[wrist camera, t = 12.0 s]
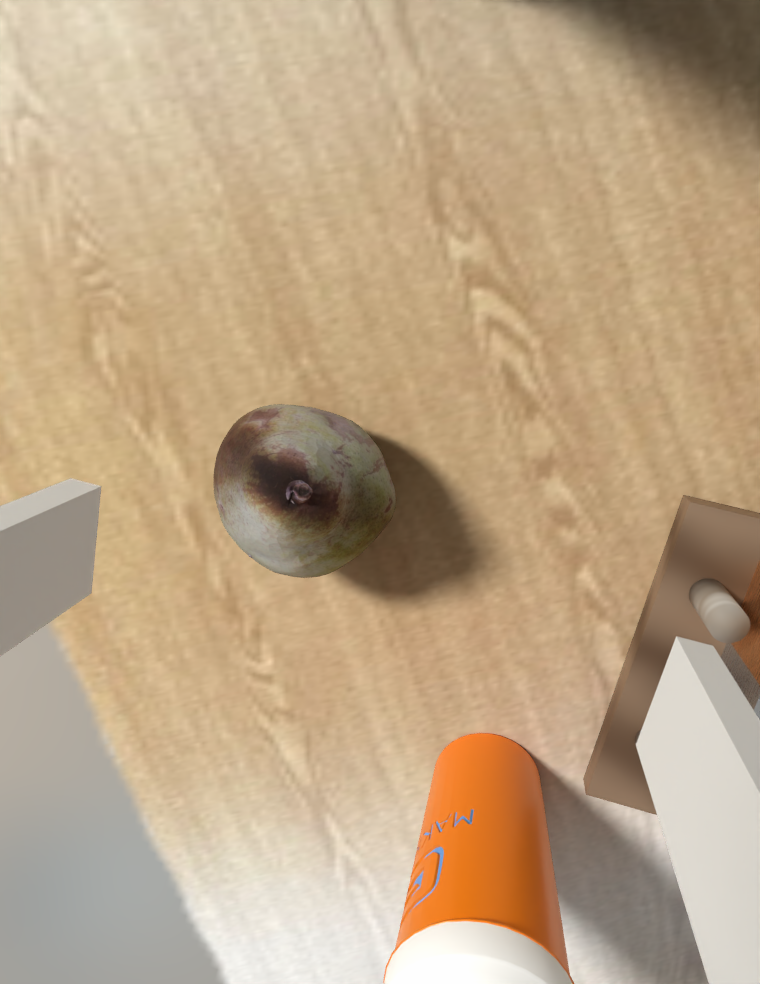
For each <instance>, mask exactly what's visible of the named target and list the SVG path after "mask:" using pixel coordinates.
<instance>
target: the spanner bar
mask: <svg viewBox="0 0 760 984" xmlns="http://www.w3.org/2000/svg"><path fill="white" fill-rule="evenodd" d="M741 608H742V609H743V611H744V612H745V613H746V614H747V616H748V617H749V620H750V630H749V632H748V634H747V635H746V636H745V637H744V638H743V639H742V640H740V641H738V642H735V643H726V646H725V648H724V651H723V653H722V656H721V659H722V661H723V662H724V664H725V665H726V667H727V669H728V670H729V672H730V673H731V675H732V677H733V678H734V680H735V681H736V683H737V685H738V686H739V688H740V689H741V691H742V693H743V694H744V696H745V697H746V699H747V701H748V702H749V704H750V705H751V707H752V708H753V710H754V712H755V713H756V715H757V716H758V718H759V720H760V561H759V563H758V565H757V568H756V570H755V573H754V575H753V578H752V580H751V583H750V585H749V588H748V590H747V593H746V595H745V598H744V600H743V603H742V605H741Z"/></svg>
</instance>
